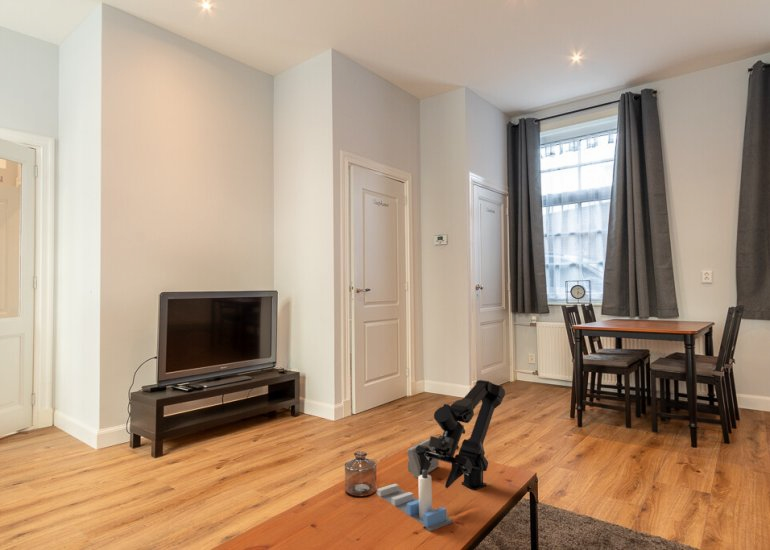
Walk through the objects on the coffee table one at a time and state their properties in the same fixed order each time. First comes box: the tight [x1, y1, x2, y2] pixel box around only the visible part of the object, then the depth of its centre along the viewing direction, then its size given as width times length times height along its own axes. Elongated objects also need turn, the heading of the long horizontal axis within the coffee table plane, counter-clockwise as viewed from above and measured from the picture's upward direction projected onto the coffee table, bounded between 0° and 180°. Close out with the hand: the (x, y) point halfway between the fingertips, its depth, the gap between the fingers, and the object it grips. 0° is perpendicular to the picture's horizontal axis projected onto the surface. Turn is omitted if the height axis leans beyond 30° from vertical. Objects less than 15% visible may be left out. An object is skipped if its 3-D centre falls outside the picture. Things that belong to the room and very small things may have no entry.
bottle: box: [417, 470, 433, 520], centre depth 143 cm, size 4×4×14 cm
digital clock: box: [406, 438, 440, 479], centre depth 179 cm, size 16×9×11 cm, turn 132°
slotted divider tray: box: [375, 483, 454, 533], centre depth 150 cm, size 9×28×4 cm, turn 35°
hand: (433, 483), depth 146 cm, fingers open, 9 cm apart
